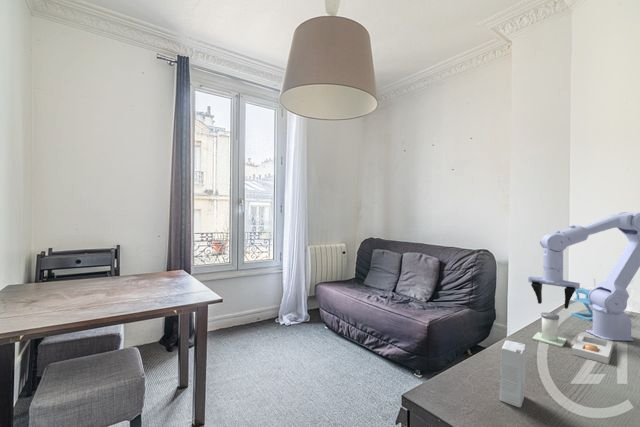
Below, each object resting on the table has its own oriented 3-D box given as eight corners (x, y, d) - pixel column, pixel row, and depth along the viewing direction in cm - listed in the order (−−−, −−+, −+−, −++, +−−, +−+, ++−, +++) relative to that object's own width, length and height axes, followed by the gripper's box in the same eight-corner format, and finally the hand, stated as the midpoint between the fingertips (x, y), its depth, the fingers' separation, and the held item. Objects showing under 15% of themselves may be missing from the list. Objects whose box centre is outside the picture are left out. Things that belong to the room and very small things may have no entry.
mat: (537, 333, 108) (537, 331, 108) (566, 340, 102) (566, 338, 102) (531, 339, 102) (531, 338, 102) (561, 347, 96) (561, 345, 96)
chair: (606, 320, 122) (607, 290, 122) (589, 321, 120) (589, 291, 120) (587, 313, 129) (587, 285, 129) (570, 314, 128) (570, 286, 128)
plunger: (585, 350, 93) (585, 343, 93) (597, 353, 91) (598, 346, 91) (584, 353, 91) (584, 345, 91) (596, 356, 89) (596, 348, 89)
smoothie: (606, 313, 131) (606, 280, 131) (589, 312, 132) (589, 279, 132) (596, 308, 137) (596, 277, 137) (579, 307, 138) (580, 276, 138)
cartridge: (552, 335, 104) (552, 312, 104) (562, 342, 99) (562, 317, 99) (537, 335, 104) (538, 312, 104) (546, 341, 100) (547, 317, 99)
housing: (580, 339, 102) (580, 333, 102) (613, 347, 96) (613, 341, 96) (571, 354, 91) (571, 347, 91) (608, 364, 86) (608, 357, 86)
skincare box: (503, 389, 73) (504, 338, 73) (526, 396, 70) (526, 343, 70) (498, 401, 68) (499, 347, 68) (522, 409, 65) (523, 353, 65)
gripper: (526, 266, 112) (525, 303, 112) (577, 272, 101) (577, 312, 101) (531, 264, 117) (531, 299, 117) (580, 269, 106) (580, 308, 106)
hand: (552, 305), depth 109 cm, fingers open, 7 cm apart
